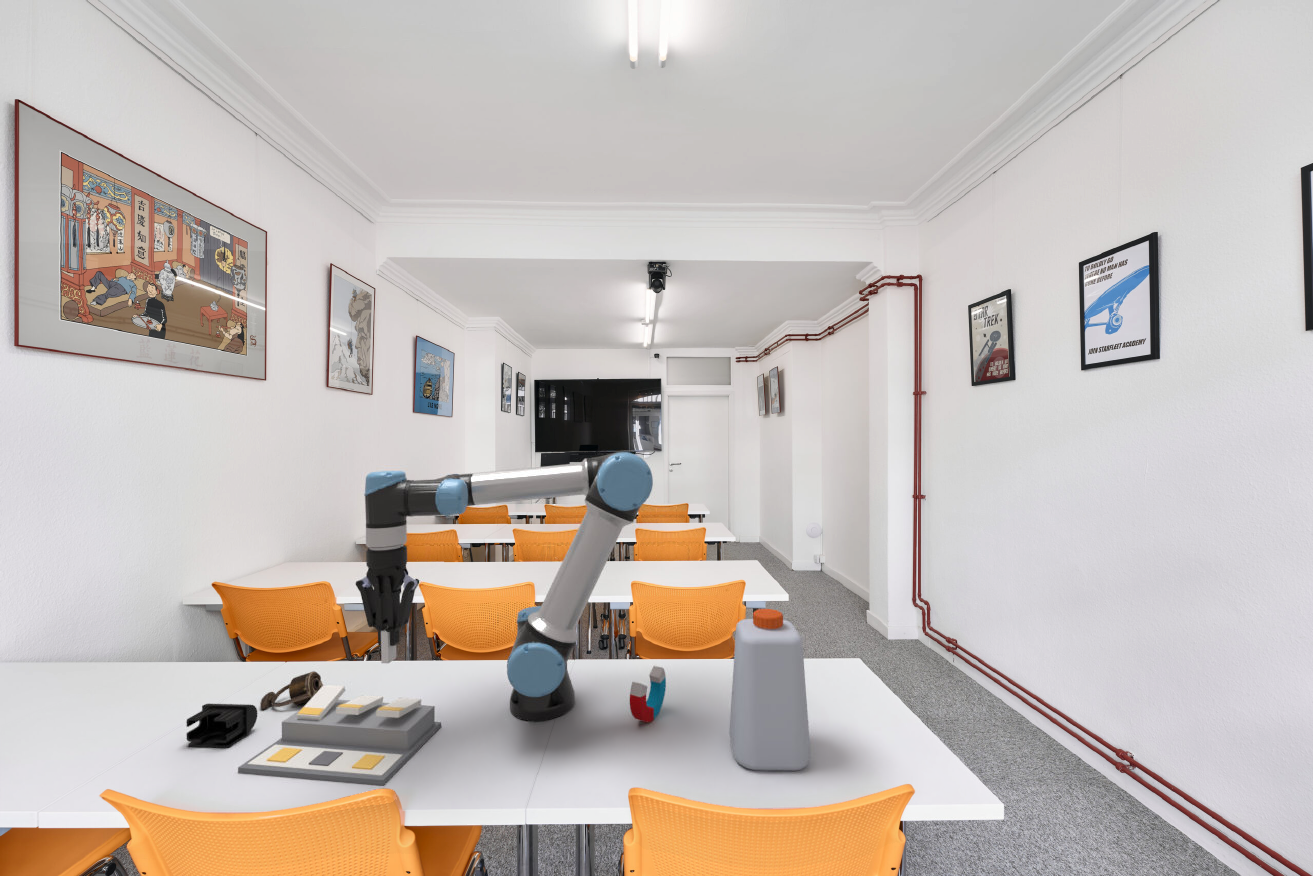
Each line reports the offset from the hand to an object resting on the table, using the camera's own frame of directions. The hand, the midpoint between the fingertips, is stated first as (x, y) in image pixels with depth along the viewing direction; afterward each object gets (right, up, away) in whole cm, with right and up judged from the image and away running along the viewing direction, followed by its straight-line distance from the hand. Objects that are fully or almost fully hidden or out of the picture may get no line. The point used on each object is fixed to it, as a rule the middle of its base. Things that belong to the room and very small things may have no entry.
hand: (389, 660), depth 109 cm
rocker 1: (-17, -11, +5) cm, 21 cm away
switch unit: (-9, -18, 0) cm, 20 cm away
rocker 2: (+1, -11, +3) cm, 11 cm away
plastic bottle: (+78, -18, -1) cm, 80 cm away
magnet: (+53, -18, +11) cm, 57 cm away
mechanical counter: (-33, -19, +19) cm, 42 cm away
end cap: (-37, -18, +4) cm, 42 cm away
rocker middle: (-8, -11, +4) cm, 14 cm away
